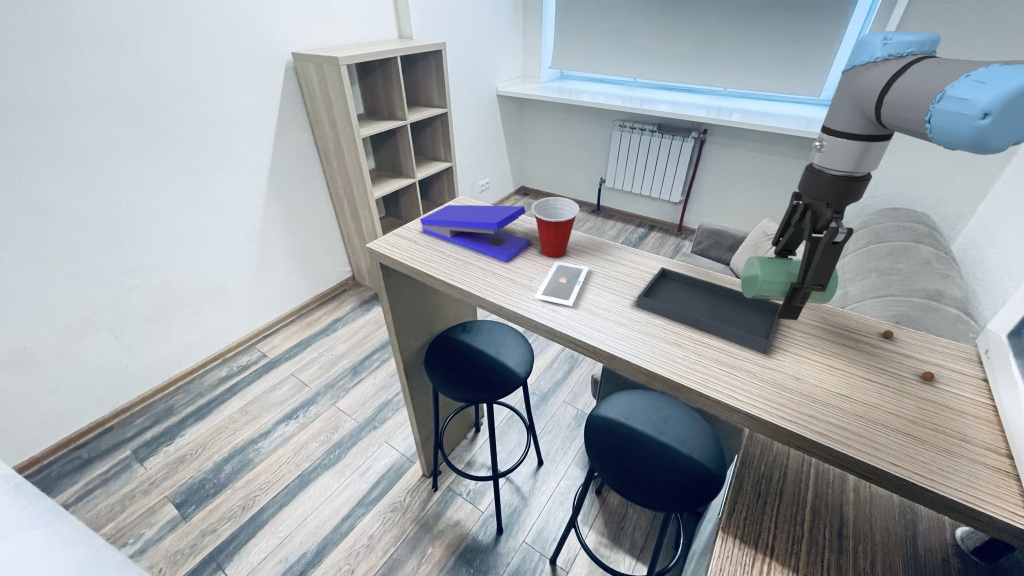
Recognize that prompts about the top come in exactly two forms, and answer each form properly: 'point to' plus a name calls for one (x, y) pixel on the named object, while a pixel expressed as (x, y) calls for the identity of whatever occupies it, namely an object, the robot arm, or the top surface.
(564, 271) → the touchpad
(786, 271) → the tumbler
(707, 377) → the top surface
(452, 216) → the stapler
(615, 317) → the top surface
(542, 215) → the plastic cup
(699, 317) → the tray
